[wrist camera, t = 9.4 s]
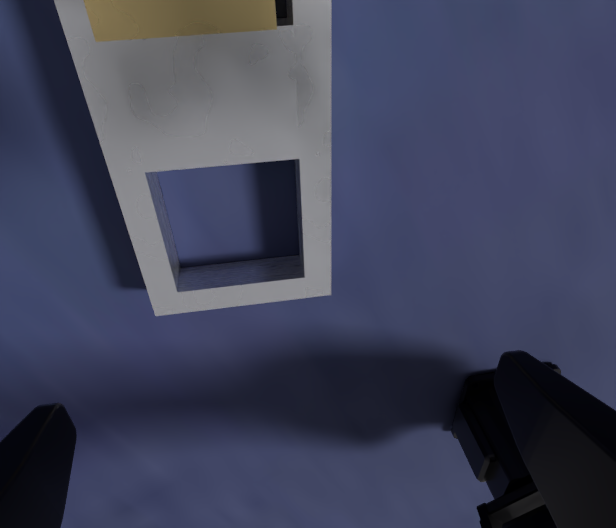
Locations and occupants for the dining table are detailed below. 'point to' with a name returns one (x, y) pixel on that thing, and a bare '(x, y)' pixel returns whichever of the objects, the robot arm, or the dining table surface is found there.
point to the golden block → (177, 17)
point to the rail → (214, 141)
